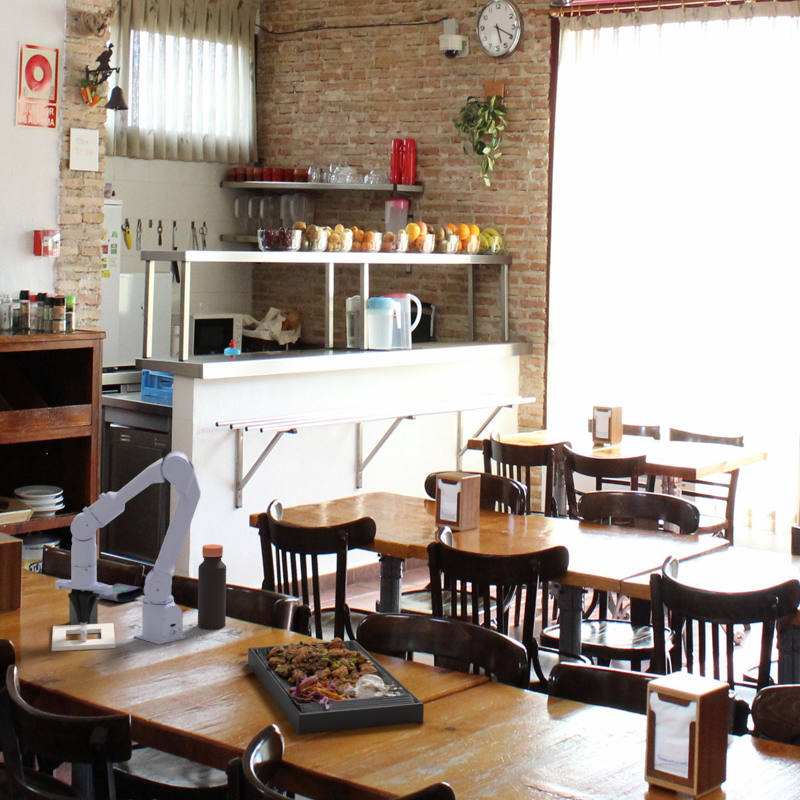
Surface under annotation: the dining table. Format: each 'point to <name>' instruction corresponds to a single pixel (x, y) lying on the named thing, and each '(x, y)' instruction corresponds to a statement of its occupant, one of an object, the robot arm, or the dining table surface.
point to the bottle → (212, 589)
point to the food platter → (332, 687)
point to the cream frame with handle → (83, 637)
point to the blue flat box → (123, 593)
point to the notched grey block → (73, 616)
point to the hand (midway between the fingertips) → (83, 621)
